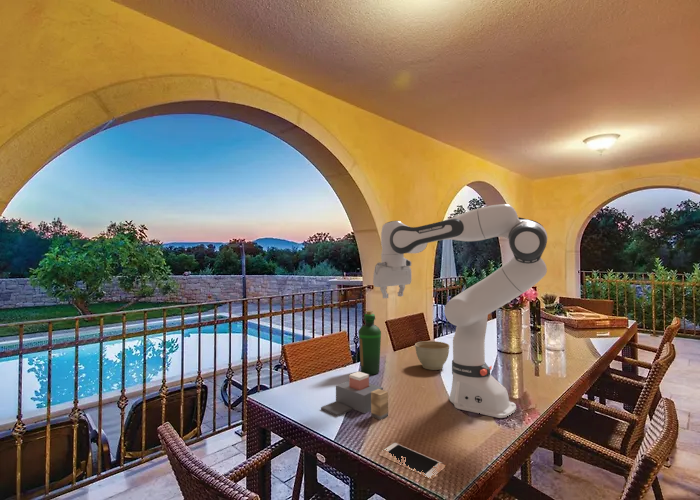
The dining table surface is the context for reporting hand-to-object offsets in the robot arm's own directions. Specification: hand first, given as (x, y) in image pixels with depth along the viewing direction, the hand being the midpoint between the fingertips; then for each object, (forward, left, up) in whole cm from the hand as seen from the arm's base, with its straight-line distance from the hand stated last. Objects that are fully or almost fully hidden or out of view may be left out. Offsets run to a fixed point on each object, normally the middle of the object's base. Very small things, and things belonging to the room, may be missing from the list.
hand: (393, 297), depth 138 cm
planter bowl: (+6, -38, -37) cm, 53 cm away
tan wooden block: (-9, +20, -37) cm, 43 cm away
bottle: (+23, -12, -37) cm, 45 cm away
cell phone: (-31, +34, -38) cm, 60 cm away
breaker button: (+3, +17, -32) cm, 36 cm away
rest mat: (+5, +27, -37) cm, 46 cm away
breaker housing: (+3, +17, -37) cm, 41 cm away
